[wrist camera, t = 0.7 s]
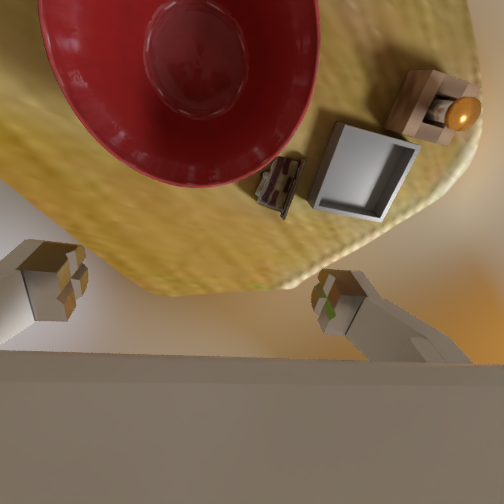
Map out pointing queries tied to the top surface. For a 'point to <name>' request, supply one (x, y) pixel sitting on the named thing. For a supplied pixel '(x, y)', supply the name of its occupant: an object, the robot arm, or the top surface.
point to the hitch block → (426, 104)
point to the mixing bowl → (186, 80)
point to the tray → (361, 172)
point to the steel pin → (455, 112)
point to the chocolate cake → (280, 184)
